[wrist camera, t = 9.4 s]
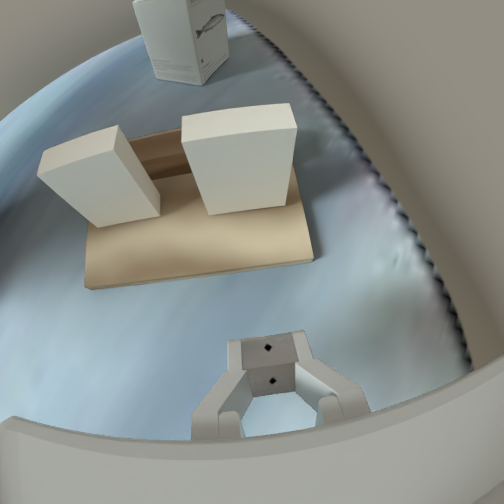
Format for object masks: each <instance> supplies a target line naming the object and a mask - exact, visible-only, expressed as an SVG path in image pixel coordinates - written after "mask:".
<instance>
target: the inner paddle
mask: <svg viewBox="0 0 504 504" xmlns="http://www.w3.org/2000/svg"><path fill="white" fill-rule="evenodd" d="M37 176H38V177H39V178H40V179H41V180H42V181H43V182H45V183H46V184H47V185H48V186H49V187H50V188H51V189H52V190H54V191H55V192H56V193H57V194H58V195H59V196H60V197H62V198H63V199H64V200H65V201H66V202H67V203H68V204H70V205H71V206H72V207H73V208H74V209H76V210H77V211H78V212H79V213H80V214H81V215H83V216H84V217H85V218H86V219H88V220H89V221H90V222H91V223H92V224H94V225H95V226H96V227H97V228H100V227H105V226H110V225H115V224H120V223H125V222H130V221H136V220H141V219H147V218H152V217H158V216H160V194H159V192H158V190H157V189H156V187H155V186H154V184H153V182H152V181H151V179H150V177H149V176H148V174H147V172H146V171H145V169H144V168H143V166H142V164H141V163H140V161H139V159H138V158H137V156H136V154H135V153H134V151H133V149H132V147H131V146H130V144H129V142H128V141H127V139H126V137H125V136H124V134H123V132H122V130H121V129H120V127H119V125H115V126H112V127H108V128H105V129H102V130H99V131H96V132H93V133H90V134H87V135H84V136H81V137H78V138H75V139H73V140H70V141H67V142H65V143H62V144H59V145H57V146H54V147H52V148H49V149H47V150H45V151H44V152H43V155H42V158H41V161H40V165H39V168H38V172H37Z"/></svg>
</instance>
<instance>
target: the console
mask: <svg viewBox="0 0 504 504" xmlns="http://www.w3.org/2000/svg"><path fill="white" fill-rule="evenodd" d="M181 137H182V128H177V129H172V130H167V131H162V132H158V133H153V134H149V135H145V136H140V137H136V138H132V139H129V140H127V141H128V142H129V144H130V146H131V147H132V149H133V151H134V153H135V154H136V156H137V158H138V159H139V161H140V163H141V164H142V166H143V168H144V169H145V171H146V172H147V174H148V176H149V177H150V179H151V181H152V182H153V184H154V186H155V187H156V189H157V190H158V192H159V194H160V216H158V217H152V218H147V219H141V220H136V221H130V222H125V223H120V224H115V225H110V226H105V227H100V228H97V227H96V226H95V225H94V224H92V223H91V222H90V221H89V220H88V228H87V240H86V256H85V288H88V289H90V290H96V289H105V288H114V287H123V286H132V285H140V284H149V283H157V282H166V281H174V280H182V279H190V278H198V277H206V276H214V275H221V274H229V273H236V272H244V271H251V270H259V269H266V268H273V267H280V266H287V265H294V264H301V263H308V262H312V260H313V258H314V256H313V251H312V246H311V241H310V237H309V232H308V227H307V223H306V218H305V214H304V209H303V205H302V201H301V196H300V192H299V188H298V184H297V180H296V175H295V171H294V167H293V163H292V166H291V172H290V179H289V185H288V191H287V197H286V203H285V206H276V207H268V208H260V209H252V210H245V211H238V212H230V213H223V214H216V215H208V212H207V210H206V207H205V204H204V202H203V199H202V196H201V194H200V191H199V189H198V186H197V183H196V181H195V178H194V175H193V173H192V170H191V167H190V164H189V162H188V159H187V156H186V154H185V151H184V148H183V145H182V143H181Z"/></svg>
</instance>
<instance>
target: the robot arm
mask: <svg viewBox="0 0 504 504" xmlns="http://www.w3.org/2000/svg"><path fill="white" fill-rule="evenodd" d="M227 349H228V372H224V373H223V375H222V376H221V377H220V378H219V380H218V381H217V382H216V384H215V385H214V386H213V387H212V389H211V390H210V391H209V393H208V394H207V395H206V396H205V398H204V399H203V400H202V401H201V403H200V404H199V405H198V406H197V408H196V409H195V410H194V411H193V413H192V429H191V440H190V441H177V440H148V439H133V438H122V437H113V436H105V435H98V434H91V433H85V432H79V431H74V430H69V429H64V428H59V427H55V426H50V425H46V424H42V423H38V422H35V421H31V420H28V419H24V418H21V417H17V416H12V417H9V418H8V419H6V420H5V421H3V422H2V423H1V424H0V504H504V354H502V355H501V356H499V357H497V358H496V359H494V360H492V361H491V362H489V363H487V364H485V365H483V366H482V367H480V368H478V369H476V370H474V371H472V372H470V373H468V374H466V375H464V376H462V377H460V378H458V379H456V380H454V381H452V382H450V383H448V384H446V385H443V386H441V387H439V388H437V389H434V390H432V391H430V392H427V393H425V394H422V395H420V396H417V397H415V398H412V399H409V400H407V401H404V402H401V403H399V404H396V405H393V406H390V407H387V408H384V409H381V410H378V411H375V412H371V411H370V408H369V406H368V403H367V401H366V398H365V396H364V394H363V391H362V389H361V387H359V386H358V385H356V384H355V383H353V382H352V381H350V380H349V379H347V378H346V377H344V376H343V375H341V374H340V373H338V372H337V371H335V370H334V369H332V368H331V367H329V366H328V365H326V364H325V363H323V362H322V361H320V360H319V359H314V358H313V355H312V352H311V349H310V346H309V343H308V340H307V337H306V334H305V331H304V330H300V331H294V332H291V333H290V332H289V333H283V334H277V335H270V336H264V337H256V338H246V339H239V340H228V343H227ZM293 391H295V392H296V393H297V394H298V395H299V396H300V397H301V398H302V399H303V400H304V401H305V402H306V403H307V404H309V405H310V406H311V407H312V408H313V409H314V410H315V411H316V412H317V417H316V424H315V427H312V428H307V429H302V430H296V431H291V432H284V433H278V434H271V435H263V436H255V437H246V436H245V433H244V430H243V426H242V423H241V419H242V418H243V416H244V414H245V412H246V410H247V409H248V407H249V405H250V403H251V401H252V399H253V397H259V396H266V395H272V394H279V393H287V392H293Z"/></svg>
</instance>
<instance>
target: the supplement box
mask: <svg viewBox="0 0 504 504" xmlns="http://www.w3.org/2000/svg"><path fill="white" fill-rule="evenodd" d="M133 7H134V10H135V14H136V17H137V20H138V23H139V27H140V29H141V33H142V36H143V39H144V42H145V45H146V48H147V51H148V54H149V57H150V60H151V63H152V67H153V70H154V72H155V75H156V79H160V80H167V81H173V82H179V83H186V84H192V85H197V86H202V85H203V84H204V83H205V82H206V81H207V79H208V78H209V77H210V76H211V75H212V74H213V73H214V72H215V71H216V70H217V69H218V68H219V67H220V66H221V65H222V64H223V63H224V62H225V61H226V60H227V59H228V58H229V45H228V35H227V24H226V14H225V4H224V0H135V1H134V2H133Z"/></svg>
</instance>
